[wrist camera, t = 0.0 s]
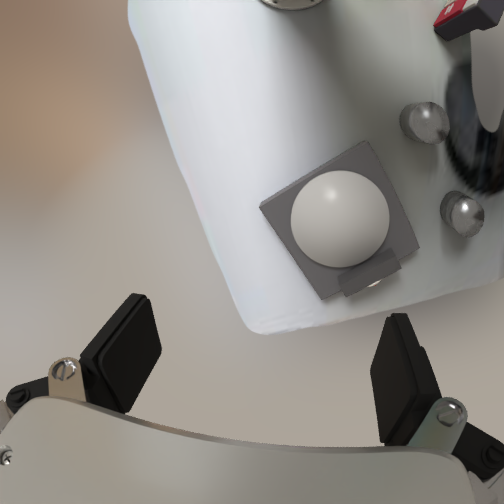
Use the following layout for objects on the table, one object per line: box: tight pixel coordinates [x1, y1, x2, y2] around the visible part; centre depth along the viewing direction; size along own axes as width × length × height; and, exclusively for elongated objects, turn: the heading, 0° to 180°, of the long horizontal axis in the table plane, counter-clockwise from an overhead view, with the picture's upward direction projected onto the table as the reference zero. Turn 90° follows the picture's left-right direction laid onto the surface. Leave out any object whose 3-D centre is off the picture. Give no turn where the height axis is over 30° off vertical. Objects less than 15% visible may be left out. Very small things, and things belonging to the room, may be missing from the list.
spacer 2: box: [440, 191, 484, 237], centre depth 39 cm, size 6×6×6 cm
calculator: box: [433, 0, 504, 41], centre depth 21 cm, size 11×4×15 cm, turn 150°
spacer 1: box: [400, 102, 450, 144], centre depth 35 cm, size 6×6×6 cm
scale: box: [259, 141, 420, 300], centre depth 44 cm, size 19×19×6 cm
